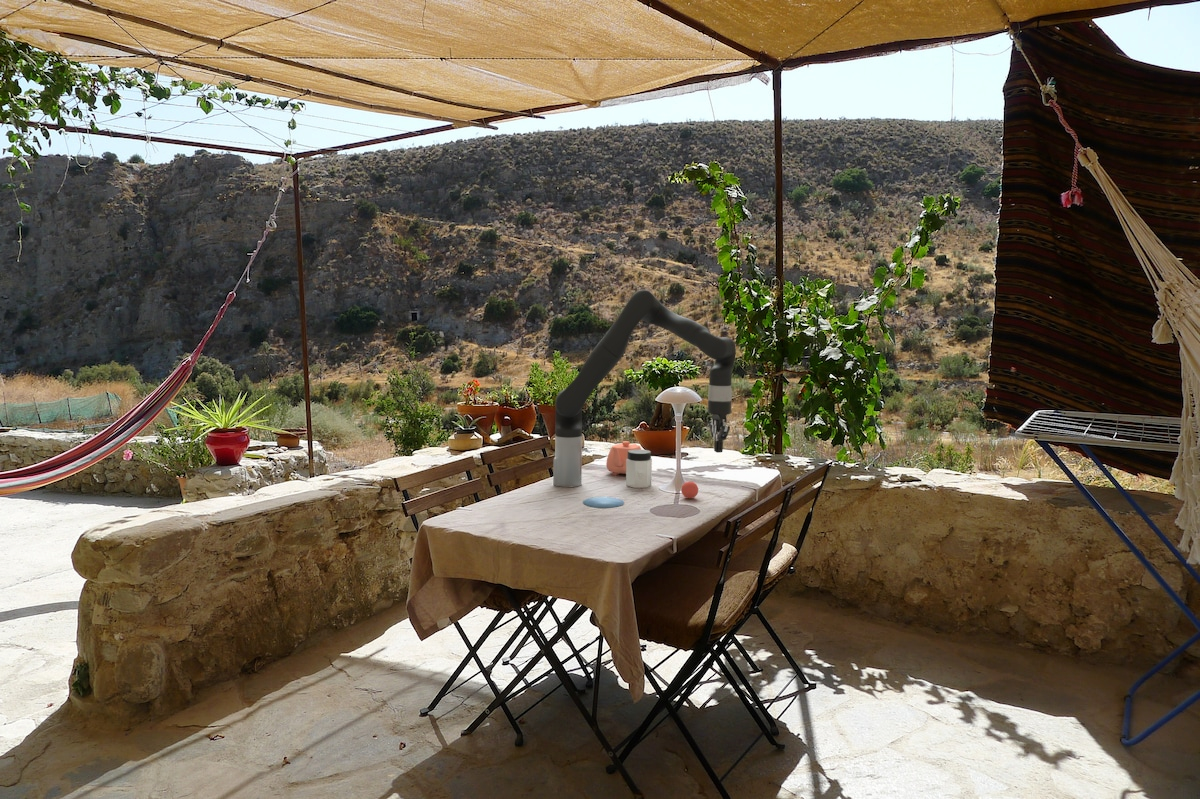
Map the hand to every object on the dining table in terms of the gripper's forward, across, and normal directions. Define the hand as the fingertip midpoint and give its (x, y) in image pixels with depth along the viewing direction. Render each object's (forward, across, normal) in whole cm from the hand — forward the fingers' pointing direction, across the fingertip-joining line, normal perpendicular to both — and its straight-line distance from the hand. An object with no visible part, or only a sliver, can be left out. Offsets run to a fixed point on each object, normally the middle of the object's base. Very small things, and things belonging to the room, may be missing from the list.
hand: (718, 451), depth 256 cm
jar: (+15, +21, +21) cm, 33 cm away
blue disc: (+15, 0, +38) cm, 41 cm away
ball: (+12, 0, +10) cm, 16 cm away
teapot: (+15, +40, +21) cm, 47 cm away
